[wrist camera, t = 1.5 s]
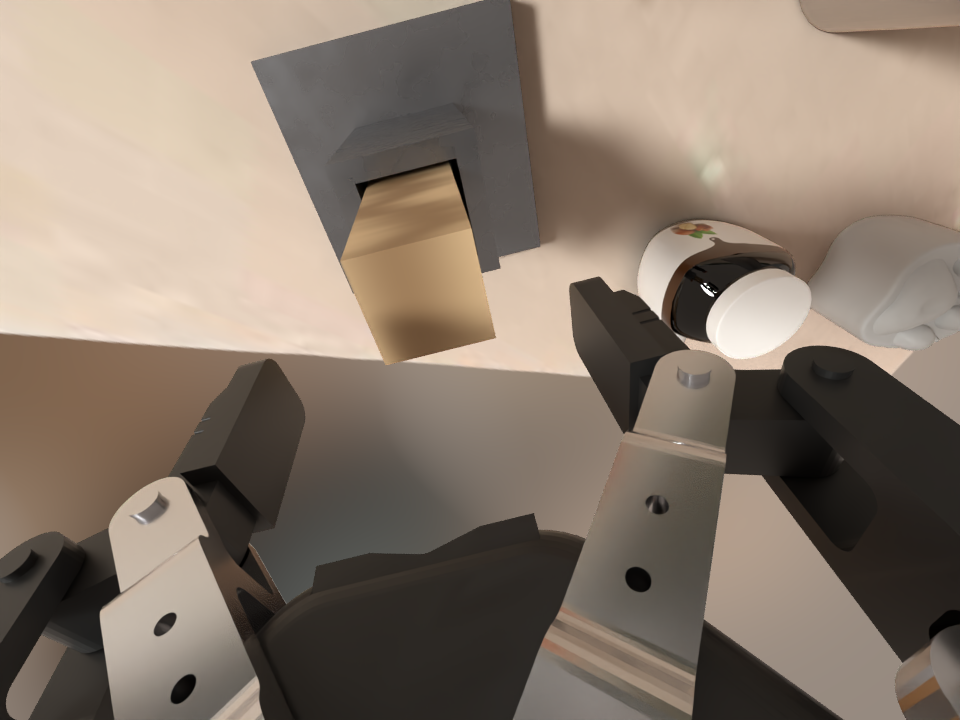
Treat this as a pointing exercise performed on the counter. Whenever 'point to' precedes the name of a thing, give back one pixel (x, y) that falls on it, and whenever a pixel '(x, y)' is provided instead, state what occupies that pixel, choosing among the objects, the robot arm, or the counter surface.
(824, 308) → the lumpy-topped squat cylinder
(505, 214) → the metal sleeve stand
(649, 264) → the spread jar
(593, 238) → the counter surface
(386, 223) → the oak post
